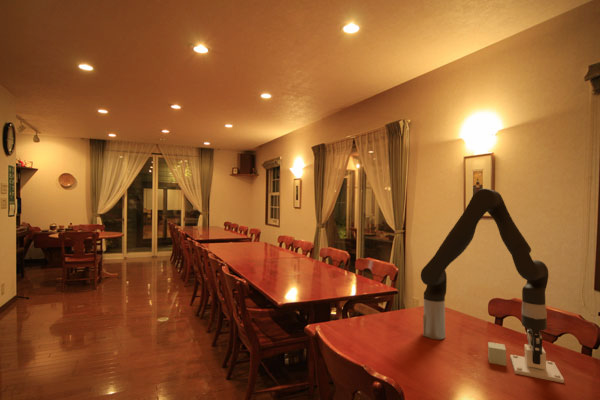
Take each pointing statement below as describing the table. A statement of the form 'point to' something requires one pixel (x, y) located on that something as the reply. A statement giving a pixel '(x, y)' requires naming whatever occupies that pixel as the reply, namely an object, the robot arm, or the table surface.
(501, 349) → the sage brick
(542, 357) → the cream brick
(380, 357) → the table surface
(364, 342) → the table surface
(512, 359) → the baseplate
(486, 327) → the table surface
